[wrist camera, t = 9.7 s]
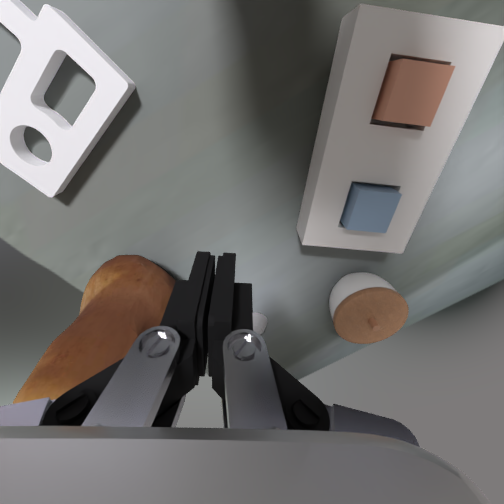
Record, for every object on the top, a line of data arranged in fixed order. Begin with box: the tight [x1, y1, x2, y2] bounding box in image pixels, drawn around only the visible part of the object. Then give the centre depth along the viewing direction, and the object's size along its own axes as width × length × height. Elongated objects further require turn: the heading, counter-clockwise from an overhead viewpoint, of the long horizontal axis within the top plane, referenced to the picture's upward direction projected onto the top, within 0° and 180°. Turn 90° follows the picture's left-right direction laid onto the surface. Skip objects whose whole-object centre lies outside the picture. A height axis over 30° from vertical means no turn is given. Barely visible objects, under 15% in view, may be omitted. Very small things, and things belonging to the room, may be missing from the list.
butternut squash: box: [13, 255, 176, 404], centre depth 32 cm, size 14×13×25 cm
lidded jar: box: [329, 272, 408, 344], centre depth 41 cm, size 11×11×9 cm
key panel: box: [296, 3, 504, 254], centre depth 31 cm, size 24×14×5 cm, turn 174°
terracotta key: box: [371, 59, 455, 127], centre depth 26 cm, size 5×5×3 cm
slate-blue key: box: [340, 182, 402, 233], centre depth 32 cm, size 5×5×3 cm
